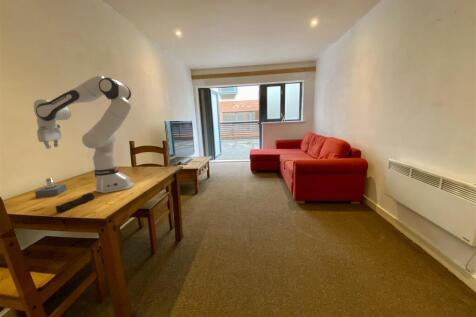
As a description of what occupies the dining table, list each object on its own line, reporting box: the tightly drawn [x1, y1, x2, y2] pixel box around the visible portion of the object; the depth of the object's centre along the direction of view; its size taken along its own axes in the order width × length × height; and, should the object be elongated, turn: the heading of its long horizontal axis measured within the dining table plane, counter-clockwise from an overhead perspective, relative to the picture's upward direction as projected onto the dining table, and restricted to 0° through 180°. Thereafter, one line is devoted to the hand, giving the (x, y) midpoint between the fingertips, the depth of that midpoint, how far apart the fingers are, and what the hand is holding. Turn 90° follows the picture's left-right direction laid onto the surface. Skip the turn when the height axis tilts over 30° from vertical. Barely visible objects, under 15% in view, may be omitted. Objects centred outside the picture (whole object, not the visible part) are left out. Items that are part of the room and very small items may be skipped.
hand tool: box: [55, 192, 95, 214], centre depth 110 cm, size 19×4×5 cm, turn 161°
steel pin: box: [45, 177, 55, 189], centre depth 130 cm, size 3×3×10 cm
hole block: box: [34, 183, 67, 199], centre depth 131 cm, size 11×11×4 cm
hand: (52, 147), depth 133 cm, fingers open, 8 cm apart
